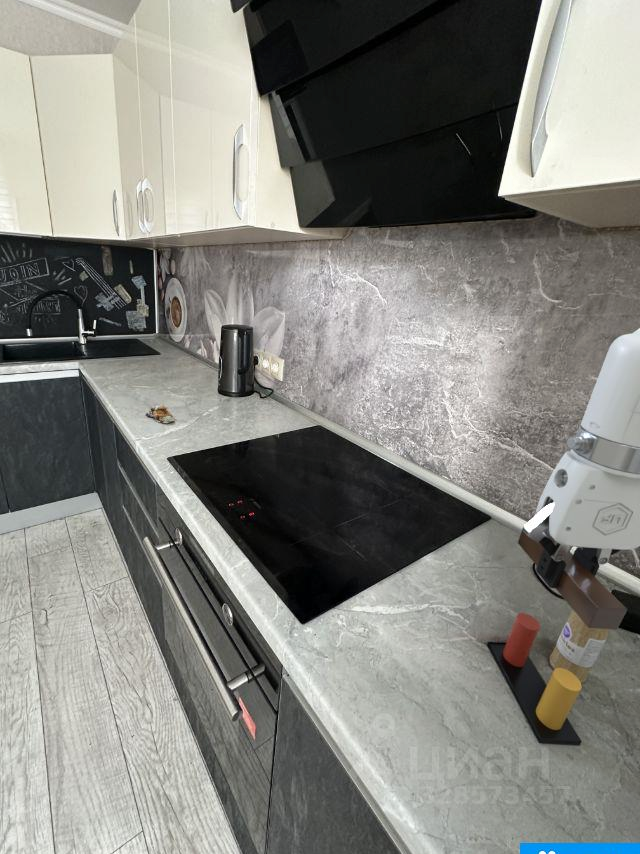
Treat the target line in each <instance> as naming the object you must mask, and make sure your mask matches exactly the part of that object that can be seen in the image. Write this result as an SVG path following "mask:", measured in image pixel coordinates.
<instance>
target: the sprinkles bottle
mask: <svg viewBox="0 0 640 854" xmlns="http://www.w3.org/2000/svg"><path fill="white" fill-rule="evenodd" d="M611 630H612V629H598V628H588V627H587V626H586V624H585V623H584V622H583V621H582V620H581V618H580V617H579V616H578V615H577V614H576V612H575V611H574V610H573V609H572V610H571V612H570V615H569V617H568V619H567V621H566V623H565V625H564V627H563V628H562V630H561V633H560V634H559V636H558V638H557V641H556V643H555V647H554V649H553V651H552V652H551V653H550V654H549V659H548V660H549V664H550V666H551V667H552V669H553V671H554V670H555V669H556V668H564V669H566V670H568V671H570V672H572V673H573V674H574V675H575V676H576V677H577V678H578V679H579V680H580V682H581V684H583V683H584V682H585V681H586V680H587V677H588V674H589V672H590V670H591V668H592V667H593V666H594V664H595V662H596V660H597V658H598V657H599V654H600V652H601V650H602V648H603V647H604V645H605V643H606V641H607V639H608V636H609V633H610V632H611Z"/></svg>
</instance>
